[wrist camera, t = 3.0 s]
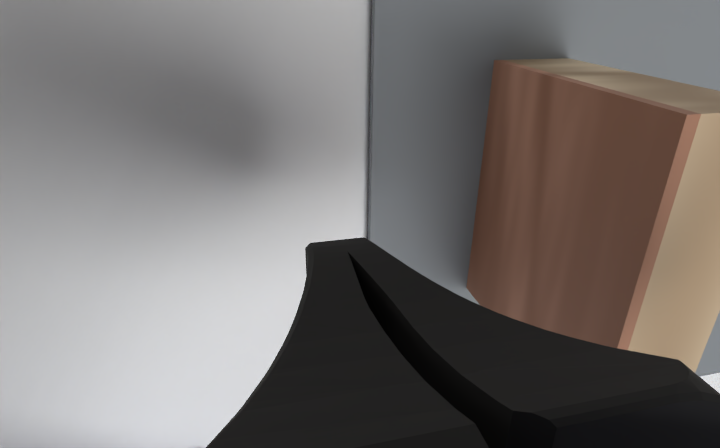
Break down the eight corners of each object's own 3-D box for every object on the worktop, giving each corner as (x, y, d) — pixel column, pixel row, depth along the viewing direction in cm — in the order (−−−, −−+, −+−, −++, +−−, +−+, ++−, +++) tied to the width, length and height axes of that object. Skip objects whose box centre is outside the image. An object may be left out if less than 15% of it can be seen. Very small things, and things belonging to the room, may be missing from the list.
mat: (364, 436, 21) (366, 442, 20) (372, -60, 13) (376, -61, 12) (715, 368, 24) (720, 372, 24) (887, -44, 17) (897, -45, 16)
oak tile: (466, 287, 18) (588, 442, 12) (493, 60, 15) (687, 114, 8) (527, 279, 19) (675, 424, 13) (568, 58, 15) (800, 108, 9)
